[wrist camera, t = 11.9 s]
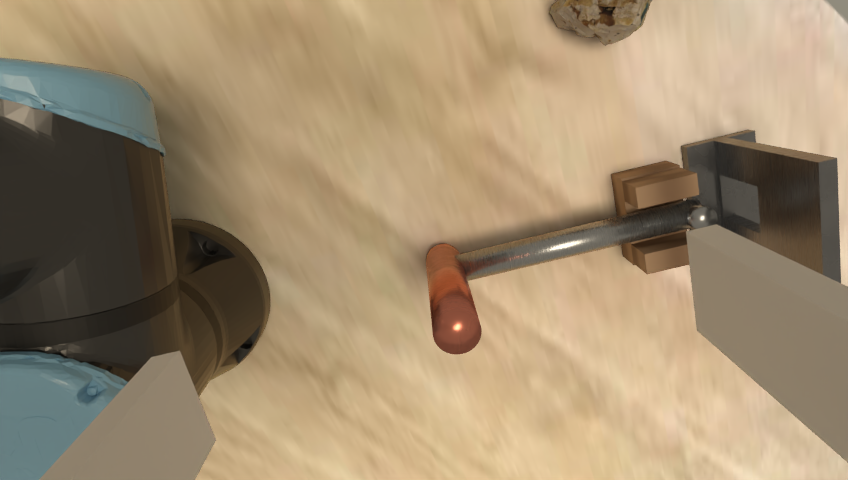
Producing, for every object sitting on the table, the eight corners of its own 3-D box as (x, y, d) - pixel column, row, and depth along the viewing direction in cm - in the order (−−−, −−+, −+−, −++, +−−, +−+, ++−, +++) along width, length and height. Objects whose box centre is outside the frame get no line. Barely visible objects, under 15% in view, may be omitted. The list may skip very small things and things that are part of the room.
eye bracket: (692, 249, 53) (789, 309, 39) (681, 146, 50) (781, 171, 37) (756, 235, 52) (875, 289, 39) (748, 129, 50) (874, 149, 36)
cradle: (622, 256, 53) (647, 276, 47) (610, 174, 50) (635, 185, 45) (675, 243, 53) (706, 262, 47) (665, 160, 50) (696, 170, 45)
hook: (430, 280, 52) (438, 358, 37) (422, 248, 51) (427, 316, 37) (688, 219, 51) (799, 276, 36) (684, 186, 50) (797, 229, 36)
